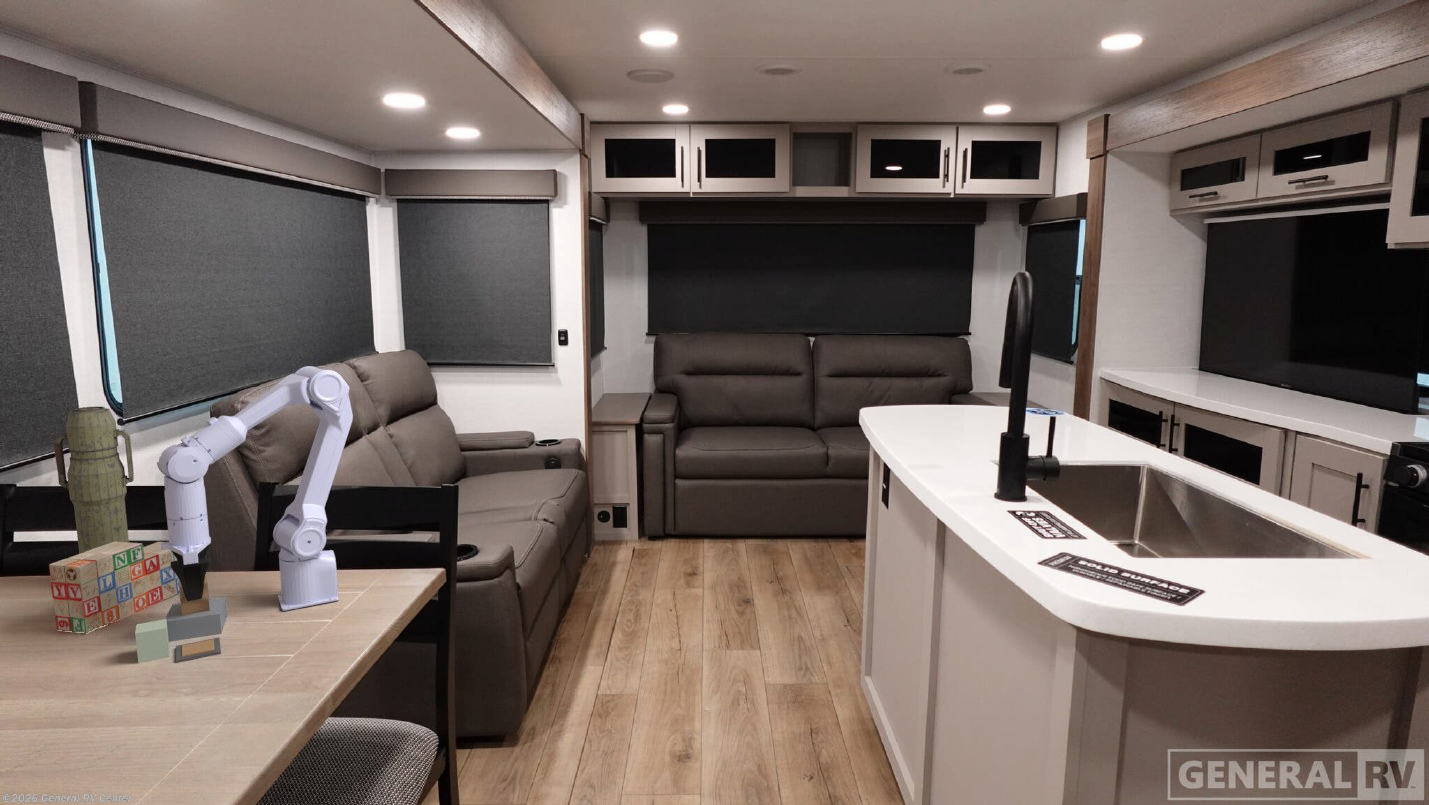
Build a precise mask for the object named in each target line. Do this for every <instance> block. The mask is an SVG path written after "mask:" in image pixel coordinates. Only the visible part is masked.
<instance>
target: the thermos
mask: <svg viewBox="0 0 1429 805" xmlns="http://www.w3.org/2000/svg"><path fill="white" fill-rule="evenodd" d="M65 430H66V433H63V434H61V435H58V436H57V438H56V439H55V440H54V442H53V443H52V445H53V449H54V452H53V453H54V458H55V462H56V463H55V464H56V470H57V476H58V477H57V478H58V485H60V486H61V487H62V488H64V489H67V491H68V494H69V500H70V501H71V502H72V505H73V508H74V509H73V510H74V517H75V527H76V536H77V545H78V554H81V553H84V552H86V551H89V550H92V549H94V548H97V547H101V546H103V545H106V544H109V543H112V542H126V543H130V540H129V531H128V521H127V520H128V519H127V510H126V501H125V500H126V498H125V497H126V495H127V491H128V490H127V485H128V483H133V482H134V478H135V477H134V475H135V474H134V462H133V453H132V452H133V451H132V440H131V435H130V434H129V433H127V431H126V430H124V429H123V430H122V429H121V430H120V429H118V428H117V422H116V419H115V417H114V415H113V413H112V412H111V409H109V408H106V407H105V406H84V407H77V408H74V410H71V411H70V412H69V414H68V417H67V420H66V424H65ZM119 436H121V437H123V439H124V444H125V455H126V463H127V475H126V473H125V472H126V470H125V466H124V464H123V462H122V460H121V458H120V453H119V452H118V446H119V442H118V441H119V440H118V437H119ZM65 439H66V440H67V447H68V451H69V454H70V457H69V466H68V468H67V469H68V470H66V463H65V455H64V454H65V453H64V446H63V441H64V440H65Z"/></svg>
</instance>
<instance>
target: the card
mask: <svg viewBox="0 0 1429 805" xmlns="http://www.w3.org/2000/svg"><path fill="white" fill-rule="evenodd" d="M220 640H221V639H220V637H215V638H214V637H213V638H210V639H209V638H208V639H204V640H200V641H199V640H198V641H195V642H190V643H189V642H188V643H183V644H180V645H176V648H175V650H176V651H175V653H176V654H175V663H176V664H177V663H183V662H186V661H191V660H197V659H200V658H205V657H209V656H215V655H220V654H222V651H221V650H222V648H221V642H220Z"/></svg>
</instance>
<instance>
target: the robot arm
mask: <svg viewBox="0 0 1429 805" xmlns="http://www.w3.org/2000/svg"><path fill="white" fill-rule="evenodd" d="M349 392H350V386H349V385H348V383H347V382H346V380H345V379H344V378H343V376H341V374H340V373H338V372H336V371H334V370H331V369H323V368H319V367H317V366H312V365H310V366H309V365H308V366H303V367H301V368H299V369H297V371H295V372H294V373H291V374H289V375H287V376H285V377H284V378H283V379H282V380H280V381H279V382H278V383H277V384H276V385H274V386H272V387H271V388H270V389H269V390H267V391H266V392H264V393H263V394H262V395H261V396H259V397H257V398H256V399H255V400H254V401H252V402H251V403H249V404H248V405H247V406H245V407H244V408H243V409H242V410H240V411H239V412H237V413H236V414H234V415H232V416H230V415H229V416H228V415H220V416H219V417H217V418H216V417H214V416H213V417H210V418H208V419H207V420H206V423H207V424H206V425H205V426H203V427H202V428H200V429H199V430H198V431H196V432H195V433H193V434H192V435H190V436H189V437H188V436H184V437H182V438H181V439H180V441H181V443H182V444H181V443H178V444H173V445H169V446H168V447H166V448H165V449H164V450H163V451H162V452H161V454H160V456H159V459H158V461H157V463H156V466H157V468H158V470H159V471H160V473H161V474H163V479H164V480H163V481H164V483H163V485H164V500H165V501H164V503H165V512H166V513H165V514H166V522H167V532H168V541H166V542H164V541H163V542H164V543H162V544H161V549H162V550H165V549H170V550H171V552H172V553H173V554H174V555H175V557H176V559H177V560H178V561H172V562H171V568H172V570H173V571H174V572H175V573H176V575H177V576H178V578H179V580H180V582H181V585H182V588H183V592H184V595H185V597H186V599H187V601H193V600H198V599H202V596H203V589H204V580H205V576H207V575H206V574H207V571H208V569H209V566H210V565H211V563H212V558H211V557H206V554H207V552H208V550H209V547H210V544H211V543H212V542H211V541H212V538H211V536H210V530H209V529H210V528H209V519H208V518H209V516H208V509H207V508H208V507H207V506H208V505H207V498H206V497H207V495H206V488H205V482H204V476H205V475H206V474H207V471H208V470H209V465H213V464H215V462H217V461H218V460H219V459H221V458H223V457H224V456H225V455H227V454H229V453H230V452H232V451H234V449H236V448H237V447H239V446H240V445H241V444H243V443H244V442H245V441H246V438H247V433H248V431H249V430H251V429H252V428H254V427H256V426H258V425H259V424H261V423H262V422H265V421H266V420H267V419H268V418H270V417H272V416H273V415H275V414H277V413H278V412H279V411H281V410H283V409H285V408H286V407H288V406H292V405H294V406H295V405H309V406H310V407H311V408H312V411H313V412H314V413H315V414H316V416H317V417H318V419H319V423H318V427H317V430H316V433H315V436H314V439H313V442H312V446H311V448H310V451H309V454H308V457H307V461H306V464H305V467H304V470H303V473H302V476H301V479H300V482H299V486H298V488H297V492H296V495H295V497H294V500H293V501H292V502H291V503H290V504H289V505H288V506H287V507H286V508H285V510H284V514H283V515H282V517H281V519H280V520H278V522H277V523H276V524H275V526H274V528H273V532H272V537H273V540H274V542H275V543H276V545H278V546H279V547H280V550H279V553H278V560H279V561H278V562H279V573H280V575H279V576H280V577H279V578H280V587H281V588H280V589H281V590H280V591H281V594H278V595H277V598H278V602H279V604H280V608H281V610H282V611H283V612H284V611H290V610H296V609H300V608H301V609H302V608H305V607H310V606H316V605H322V604H327V603H332V602H338V601H339V599H340V596H339V589H338V588H339V583H338V582H339V581H338V574H337V573H338V572H337V561H336V555H335V552H334V550H332V549H330V550H324V548H325V547H326V544H327V535H326V526H327V523H328V518H327V514H326V510H325V507H326V503H327V501H328V498H329V494H330V491H331V488H332V485H333V482H334V480H335V476H336V473H337V470H338V466H339V464H340V460H341V457H342V455H343V454H342V453H343V451H344V448H345V445H346V441H347V438H348V436H349V432H350V429H351V426H352V424H353V418H354V415H353V410H352V404H351V400H350V396H349Z"/></svg>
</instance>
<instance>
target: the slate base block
mask: <svg viewBox="0 0 1429 805" xmlns="http://www.w3.org/2000/svg"><path fill="white" fill-rule="evenodd" d="M209 607H210V611H205V612H199V613H194V614H188V615H183V616H182V612H181V602H178V603H172V604H171V606H170V608H169V610H168V612H167V614H166V616H165V618H164V619H167V630H168V640H169V642H177V641H183V640H189V639H190V640H191V639H197V638H198V639H199V638H203V637H211V636H216V635H222V633H223V631H224V627H225V624H226V622H227V618H228V612H227V611H228V607H227V598H226V597H225V596H224V597H215V598H209Z"/></svg>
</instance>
